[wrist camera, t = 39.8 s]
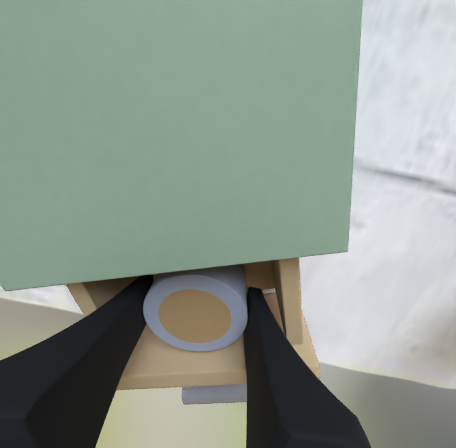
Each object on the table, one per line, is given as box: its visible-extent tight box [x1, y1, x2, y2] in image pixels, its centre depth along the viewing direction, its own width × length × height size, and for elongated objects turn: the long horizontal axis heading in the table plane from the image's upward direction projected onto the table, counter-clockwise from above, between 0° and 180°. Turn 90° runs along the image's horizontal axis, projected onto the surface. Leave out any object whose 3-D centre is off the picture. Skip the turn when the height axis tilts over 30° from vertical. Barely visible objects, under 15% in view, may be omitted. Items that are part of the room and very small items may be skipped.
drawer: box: [66, 257, 320, 404], centre depth 13 cm, size 17×11×5 cm, turn 10°
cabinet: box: [0, 0, 363, 291], centre depth 8 cm, size 14×13×7 cm
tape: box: [143, 264, 248, 352], centre depth 12 cm, size 5×5×3 cm
